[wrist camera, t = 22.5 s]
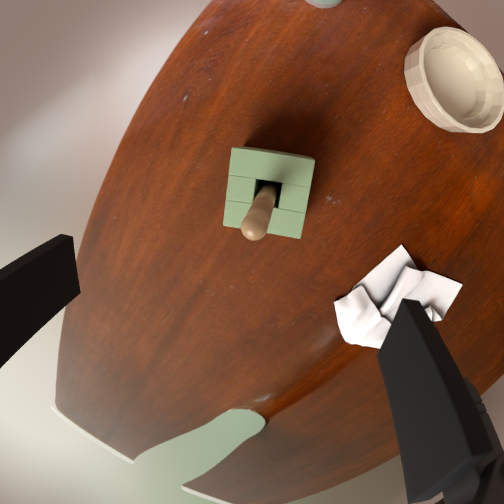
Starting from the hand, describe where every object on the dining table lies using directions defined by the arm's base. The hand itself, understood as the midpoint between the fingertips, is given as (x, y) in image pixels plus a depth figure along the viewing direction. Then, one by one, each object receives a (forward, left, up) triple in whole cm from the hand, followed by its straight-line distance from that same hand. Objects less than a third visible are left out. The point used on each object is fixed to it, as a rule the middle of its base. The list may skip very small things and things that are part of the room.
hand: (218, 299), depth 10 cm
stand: (0, 0, -29) cm, 29 cm away
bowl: (-20, +22, -29) cm, 41 cm away
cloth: (+15, +24, -29) cm, 41 cm away
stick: (0, 0, -29) cm, 29 cm away
